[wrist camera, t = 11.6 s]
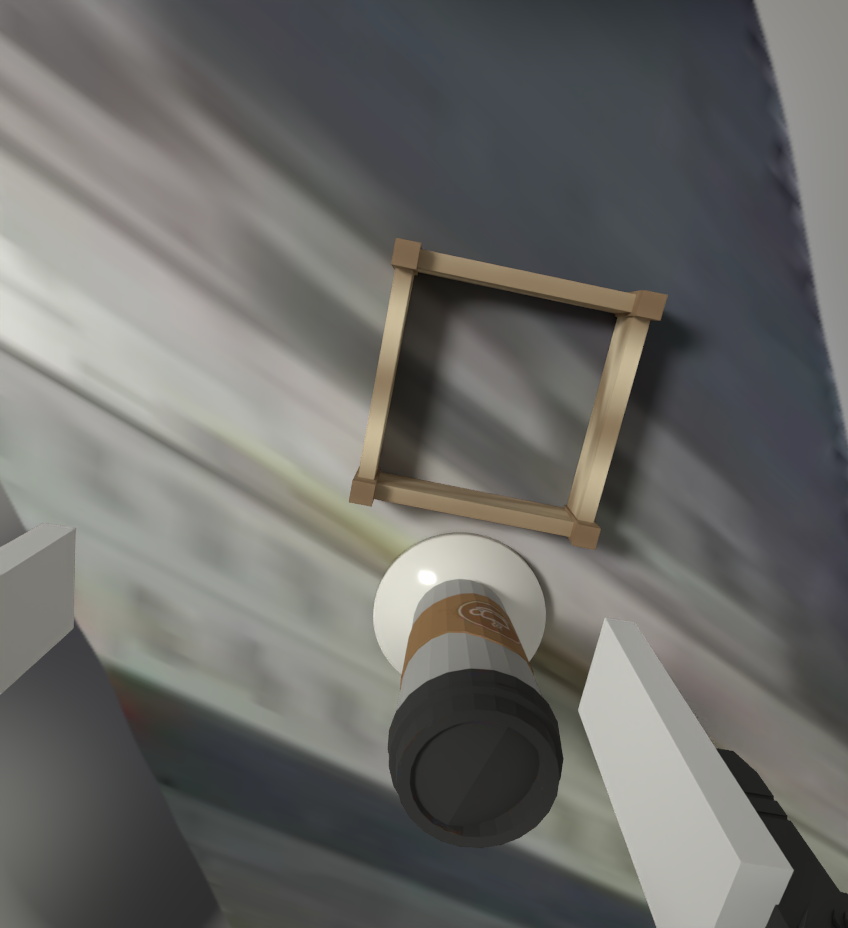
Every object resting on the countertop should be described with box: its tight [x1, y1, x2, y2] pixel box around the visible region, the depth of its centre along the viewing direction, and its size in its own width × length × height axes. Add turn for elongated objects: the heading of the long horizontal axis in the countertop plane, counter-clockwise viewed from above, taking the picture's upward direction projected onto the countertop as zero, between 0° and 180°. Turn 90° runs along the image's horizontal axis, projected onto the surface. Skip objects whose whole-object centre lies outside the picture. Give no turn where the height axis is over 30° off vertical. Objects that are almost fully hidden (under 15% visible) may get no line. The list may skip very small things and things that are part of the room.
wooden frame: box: [349, 238, 668, 550], centre depth 36 cm, size 15×15×4 cm
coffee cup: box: [388, 579, 563, 848], centre depth 33 cm, size 8×8×15 cm
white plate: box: [373, 533, 546, 674], centre depth 41 cm, size 12×12×1 cm
